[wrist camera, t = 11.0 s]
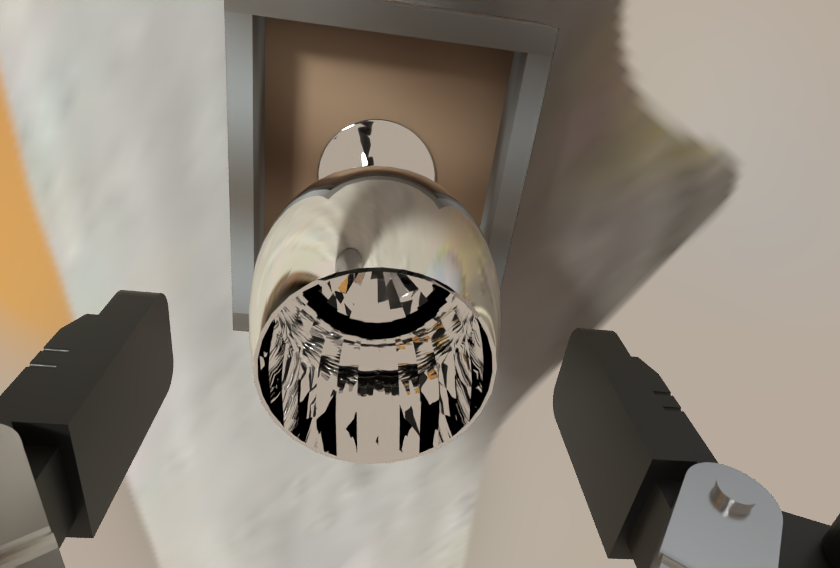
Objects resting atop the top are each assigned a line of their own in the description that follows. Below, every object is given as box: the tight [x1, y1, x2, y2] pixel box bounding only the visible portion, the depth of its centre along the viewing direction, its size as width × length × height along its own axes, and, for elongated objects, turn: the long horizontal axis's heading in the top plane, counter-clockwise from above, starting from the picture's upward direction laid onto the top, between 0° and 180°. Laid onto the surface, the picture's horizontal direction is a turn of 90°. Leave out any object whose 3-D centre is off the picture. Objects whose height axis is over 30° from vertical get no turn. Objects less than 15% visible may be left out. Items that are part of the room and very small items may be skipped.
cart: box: [224, 0, 559, 332], centre depth 22 cm, size 12×10×5 cm
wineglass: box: [249, 118, 501, 464], centre depth 16 cm, size 6×6×12 cm
